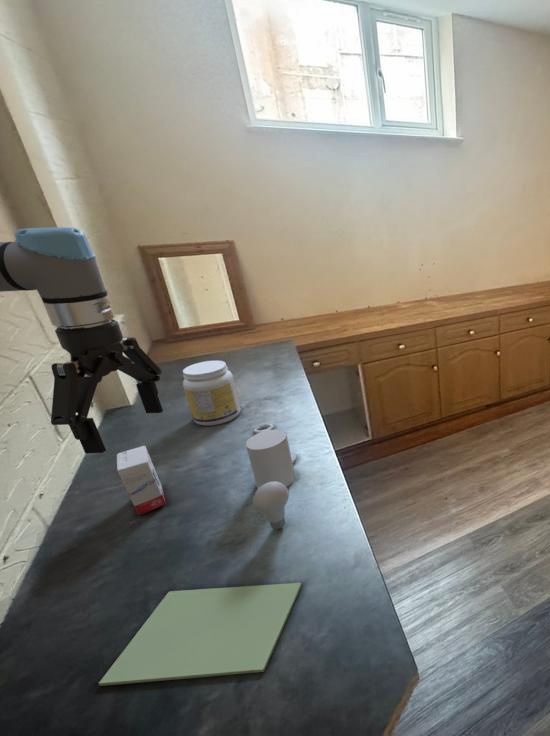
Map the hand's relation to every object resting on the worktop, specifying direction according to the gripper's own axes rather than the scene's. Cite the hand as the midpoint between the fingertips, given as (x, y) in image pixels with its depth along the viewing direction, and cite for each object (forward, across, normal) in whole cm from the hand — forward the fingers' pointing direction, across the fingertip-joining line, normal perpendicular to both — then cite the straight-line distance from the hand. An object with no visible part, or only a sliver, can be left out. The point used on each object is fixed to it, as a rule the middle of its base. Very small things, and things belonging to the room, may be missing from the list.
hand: (127, 430), depth 75 cm
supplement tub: (+23, +44, +14) cm, 52 cm away
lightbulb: (+23, -3, -24) cm, 34 cm away
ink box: (+23, +7, +8) cm, 25 cm away
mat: (+23, -24, -23) cm, 40 cm away
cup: (+23, +12, -17) cm, 31 cm away
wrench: (+23, +28, -10) cm, 37 cm away
